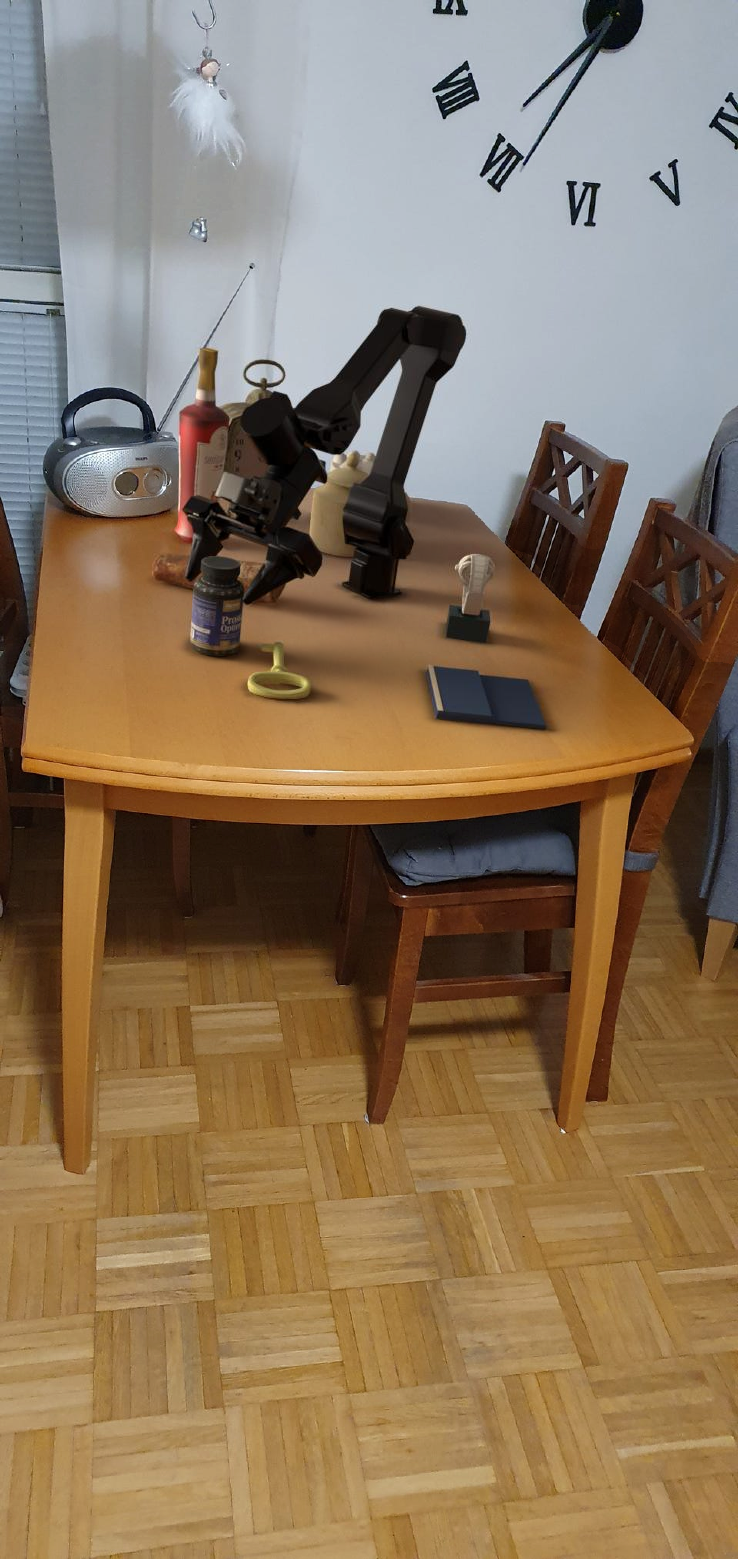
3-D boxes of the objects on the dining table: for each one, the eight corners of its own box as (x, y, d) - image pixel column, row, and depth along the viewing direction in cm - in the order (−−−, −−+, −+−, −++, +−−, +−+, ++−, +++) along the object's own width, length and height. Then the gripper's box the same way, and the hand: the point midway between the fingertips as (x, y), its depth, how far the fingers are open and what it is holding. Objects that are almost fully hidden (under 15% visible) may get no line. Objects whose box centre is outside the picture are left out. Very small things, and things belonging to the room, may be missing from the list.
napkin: (426, 673, 149) (427, 664, 149) (527, 683, 151) (529, 675, 150) (435, 718, 138) (437, 709, 137) (545, 729, 139) (547, 720, 139)
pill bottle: (225, 661, 144) (232, 575, 139) (180, 649, 146) (185, 563, 141) (247, 645, 150) (254, 561, 144) (203, 633, 151) (209, 550, 146)
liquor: (195, 529, 188) (207, 343, 174) (230, 542, 184) (245, 353, 171) (162, 537, 182) (171, 345, 169) (198, 550, 179) (210, 356, 165)
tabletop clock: (217, 524, 191) (229, 363, 179) (201, 507, 198) (211, 350, 186) (301, 524, 197) (318, 368, 185) (283, 507, 204) (297, 355, 192)
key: (280, 655, 148) (281, 639, 147) (315, 699, 138) (317, 682, 137) (224, 658, 145) (225, 642, 144) (256, 703, 136) (258, 686, 135)
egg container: (324, 510, 205) (330, 460, 201) (328, 490, 217) (333, 442, 212) (384, 518, 206) (391, 468, 202) (385, 498, 217) (391, 450, 213)
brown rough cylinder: (276, 613, 160) (279, 573, 158) (144, 584, 164) (146, 545, 161) (290, 599, 166) (294, 560, 163) (163, 571, 169) (165, 533, 166)
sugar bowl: (396, 541, 196) (410, 449, 189) (404, 563, 186) (419, 468, 179) (306, 532, 194) (316, 439, 187) (309, 554, 184) (320, 457, 177)
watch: (485, 626, 167) (499, 550, 161) (486, 647, 160) (501, 569, 154) (445, 620, 167) (458, 544, 161) (445, 641, 160) (459, 563, 154)
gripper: (197, 428, 144) (127, 531, 141) (319, 467, 136) (248, 578, 133) (235, 484, 154) (170, 582, 151) (351, 523, 145) (285, 628, 142)
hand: (215, 591), depth 144 cm, fingers open, 9 cm apart
